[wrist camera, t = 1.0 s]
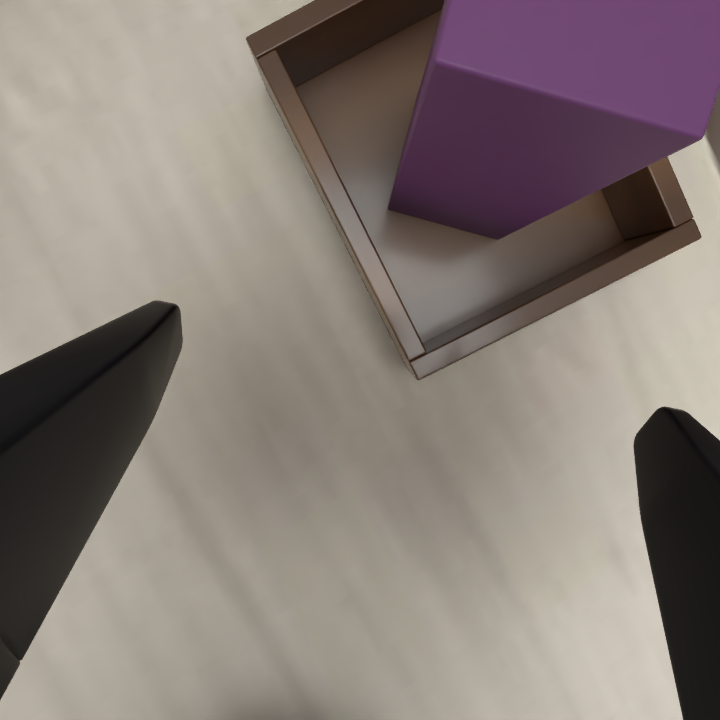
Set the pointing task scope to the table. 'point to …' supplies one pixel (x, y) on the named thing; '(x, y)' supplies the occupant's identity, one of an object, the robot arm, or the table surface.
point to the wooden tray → (426, 238)
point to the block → (552, 104)
